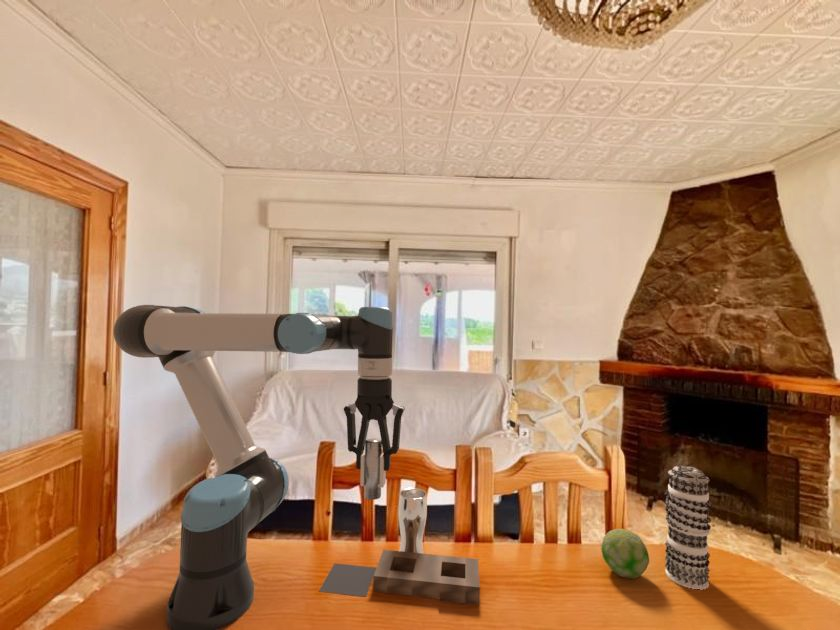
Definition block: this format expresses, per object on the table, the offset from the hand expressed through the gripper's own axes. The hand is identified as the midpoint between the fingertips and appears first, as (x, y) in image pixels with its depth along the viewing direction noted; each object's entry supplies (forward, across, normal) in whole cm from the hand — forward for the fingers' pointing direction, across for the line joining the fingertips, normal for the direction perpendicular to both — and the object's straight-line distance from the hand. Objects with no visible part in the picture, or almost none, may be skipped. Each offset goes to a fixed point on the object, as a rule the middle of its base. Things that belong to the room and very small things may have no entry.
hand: (373, 484), depth 88 cm
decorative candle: (+23, +71, +14) cm, 76 cm away
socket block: (+21, +12, +2) cm, 25 cm away
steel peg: (+3, 0, 0) cm, 3 cm away
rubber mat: (+21, -5, 0) cm, 22 cm away
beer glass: (+21, +7, +12) cm, 25 cm away
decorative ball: (+23, +57, +13) cm, 63 cm away
